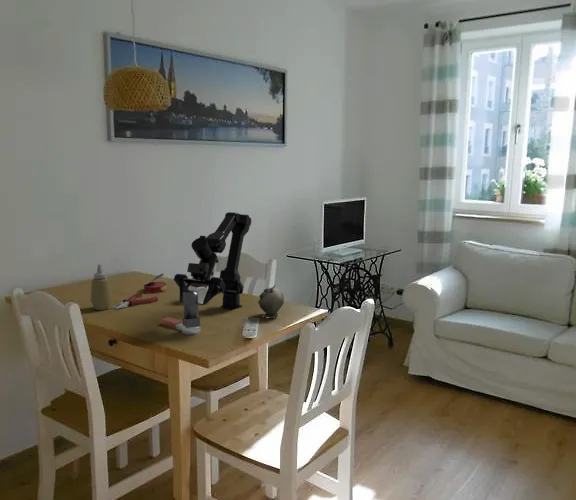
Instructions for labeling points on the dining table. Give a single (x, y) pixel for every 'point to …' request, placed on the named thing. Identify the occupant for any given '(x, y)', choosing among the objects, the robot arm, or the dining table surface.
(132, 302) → the pliers
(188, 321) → the socket
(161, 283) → the canned food
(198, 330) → the ratchet
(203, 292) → the spread jar
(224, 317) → the dining table surface
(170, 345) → the dining table surface
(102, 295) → the squeeze bottle
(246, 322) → the dining table surface
